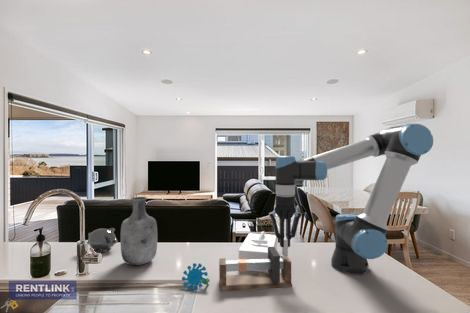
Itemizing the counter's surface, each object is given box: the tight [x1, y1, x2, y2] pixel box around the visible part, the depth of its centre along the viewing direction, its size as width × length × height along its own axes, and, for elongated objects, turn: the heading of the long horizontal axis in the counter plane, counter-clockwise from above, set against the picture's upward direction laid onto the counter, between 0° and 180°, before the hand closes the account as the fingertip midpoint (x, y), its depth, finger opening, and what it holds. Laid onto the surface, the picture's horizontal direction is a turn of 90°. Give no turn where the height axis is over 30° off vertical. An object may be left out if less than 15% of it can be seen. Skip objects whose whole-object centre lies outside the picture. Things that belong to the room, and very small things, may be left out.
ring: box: [267, 247, 281, 283], centre depth 105 cm, size 2×10×10 cm, turn 5°
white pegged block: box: [238, 230, 278, 273], centre depth 126 cm, size 14×25×11 cm, turn 167°
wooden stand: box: [218, 255, 293, 292], centre depth 104 cm, size 27×10×9 cm, turn 95°
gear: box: [181, 262, 210, 291], centre depth 103 cm, size 11×6×10 cm
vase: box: [120, 196, 158, 266], centre depth 123 cm, size 16×16×30 cm
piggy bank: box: [87, 227, 119, 254], centre depth 138 cm, size 11×15×12 cm
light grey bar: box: [226, 257, 284, 273], centre depth 104 cm, size 25×3×3 cm, turn 95°
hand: (284, 254), depth 105 cm, fingers closed
